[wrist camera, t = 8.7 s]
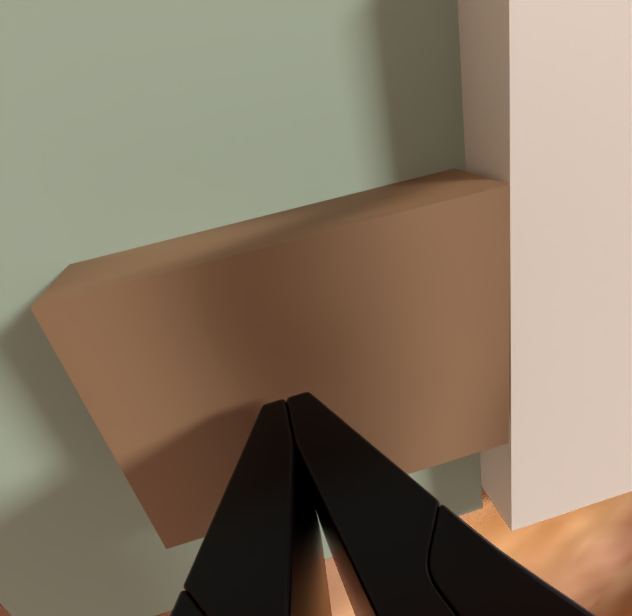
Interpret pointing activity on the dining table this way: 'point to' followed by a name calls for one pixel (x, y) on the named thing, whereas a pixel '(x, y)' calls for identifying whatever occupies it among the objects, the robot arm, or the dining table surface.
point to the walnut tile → (294, 335)
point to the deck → (558, 241)
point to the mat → (178, 220)
